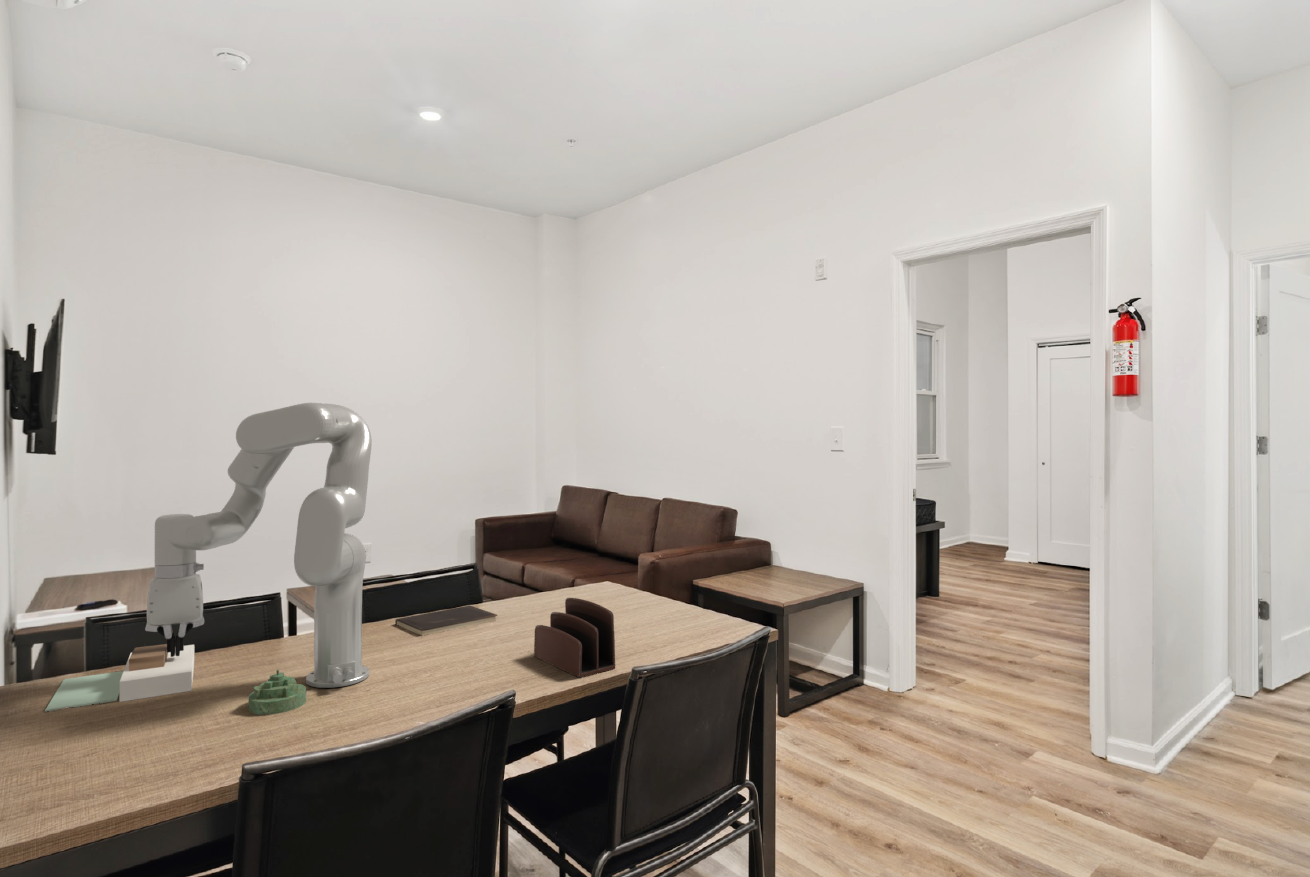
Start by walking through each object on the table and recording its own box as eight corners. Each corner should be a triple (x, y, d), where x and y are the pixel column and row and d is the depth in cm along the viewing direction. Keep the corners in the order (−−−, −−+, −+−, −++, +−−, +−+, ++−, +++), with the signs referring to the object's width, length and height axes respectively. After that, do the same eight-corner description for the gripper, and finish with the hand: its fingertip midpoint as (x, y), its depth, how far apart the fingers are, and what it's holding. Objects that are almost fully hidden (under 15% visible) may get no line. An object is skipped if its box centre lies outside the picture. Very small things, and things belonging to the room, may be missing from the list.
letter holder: (568, 649, 177) (568, 593, 177) (616, 669, 162) (616, 608, 162) (533, 657, 170) (533, 599, 170) (579, 679, 155) (580, 615, 155)
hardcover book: (497, 622, 203) (497, 614, 203) (421, 638, 187) (421, 629, 187) (468, 612, 214) (468, 605, 214) (395, 626, 198) (395, 618, 198)
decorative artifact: (315, 696, 145) (267, 695, 145) (315, 662, 145) (267, 661, 145) (288, 716, 135) (237, 715, 135) (288, 679, 135) (237, 678, 135)
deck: (191, 690, 147) (191, 671, 147) (119, 702, 141) (119, 682, 141) (194, 661, 166) (194, 644, 166) (130, 670, 159) (130, 652, 159)
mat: (116, 700, 141) (116, 698, 141) (45, 712, 135) (45, 710, 135) (127, 672, 158) (127, 670, 158) (64, 681, 152) (64, 679, 152)
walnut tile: (163, 666, 150) (163, 655, 150) (128, 671, 147) (128, 659, 147) (168, 655, 158) (168, 643, 158) (134, 659, 155) (134, 647, 155)
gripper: (215, 565, 162) (215, 645, 162) (135, 571, 154) (134, 655, 154) (215, 570, 155) (215, 654, 155) (131, 577, 147) (131, 665, 148)
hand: (175, 654), depth 155 cm, fingers closed
